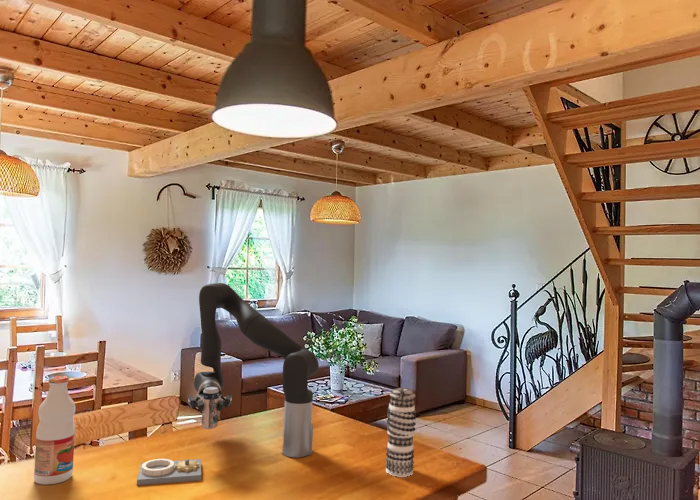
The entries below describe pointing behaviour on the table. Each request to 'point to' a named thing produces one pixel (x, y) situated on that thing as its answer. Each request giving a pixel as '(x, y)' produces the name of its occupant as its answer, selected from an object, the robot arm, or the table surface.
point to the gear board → (171, 475)
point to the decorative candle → (400, 432)
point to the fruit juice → (55, 434)
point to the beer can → (210, 407)
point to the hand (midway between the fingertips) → (210, 408)
